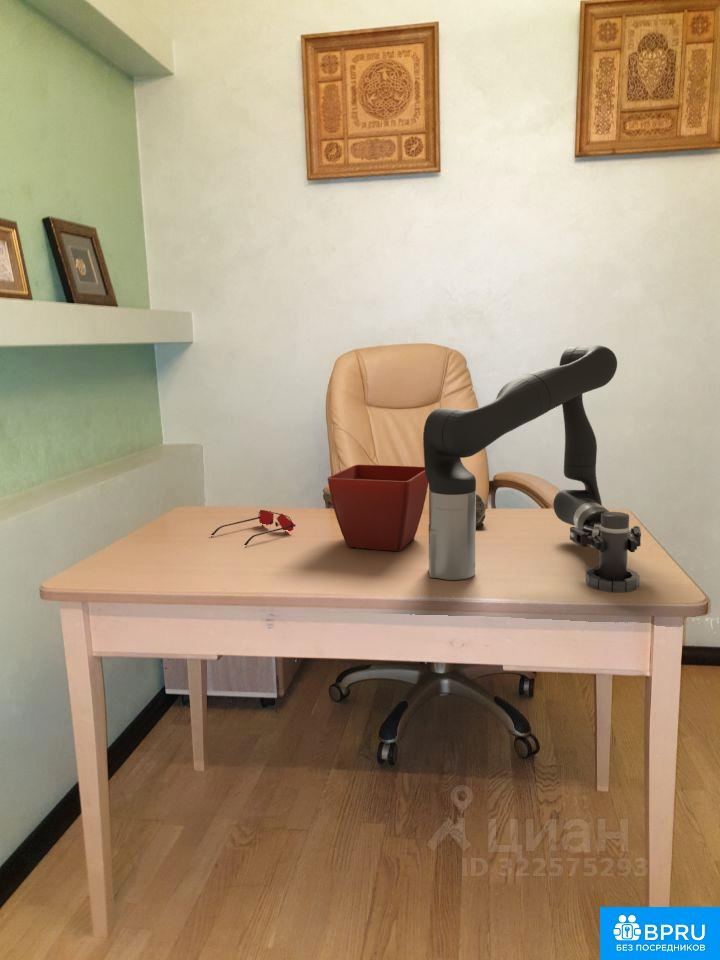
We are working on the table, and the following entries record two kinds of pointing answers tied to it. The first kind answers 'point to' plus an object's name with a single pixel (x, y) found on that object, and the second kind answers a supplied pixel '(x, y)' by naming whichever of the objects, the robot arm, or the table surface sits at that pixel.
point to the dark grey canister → (614, 545)
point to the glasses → (268, 522)
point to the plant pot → (378, 504)
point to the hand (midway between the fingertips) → (617, 547)
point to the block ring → (612, 581)
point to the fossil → (480, 510)
